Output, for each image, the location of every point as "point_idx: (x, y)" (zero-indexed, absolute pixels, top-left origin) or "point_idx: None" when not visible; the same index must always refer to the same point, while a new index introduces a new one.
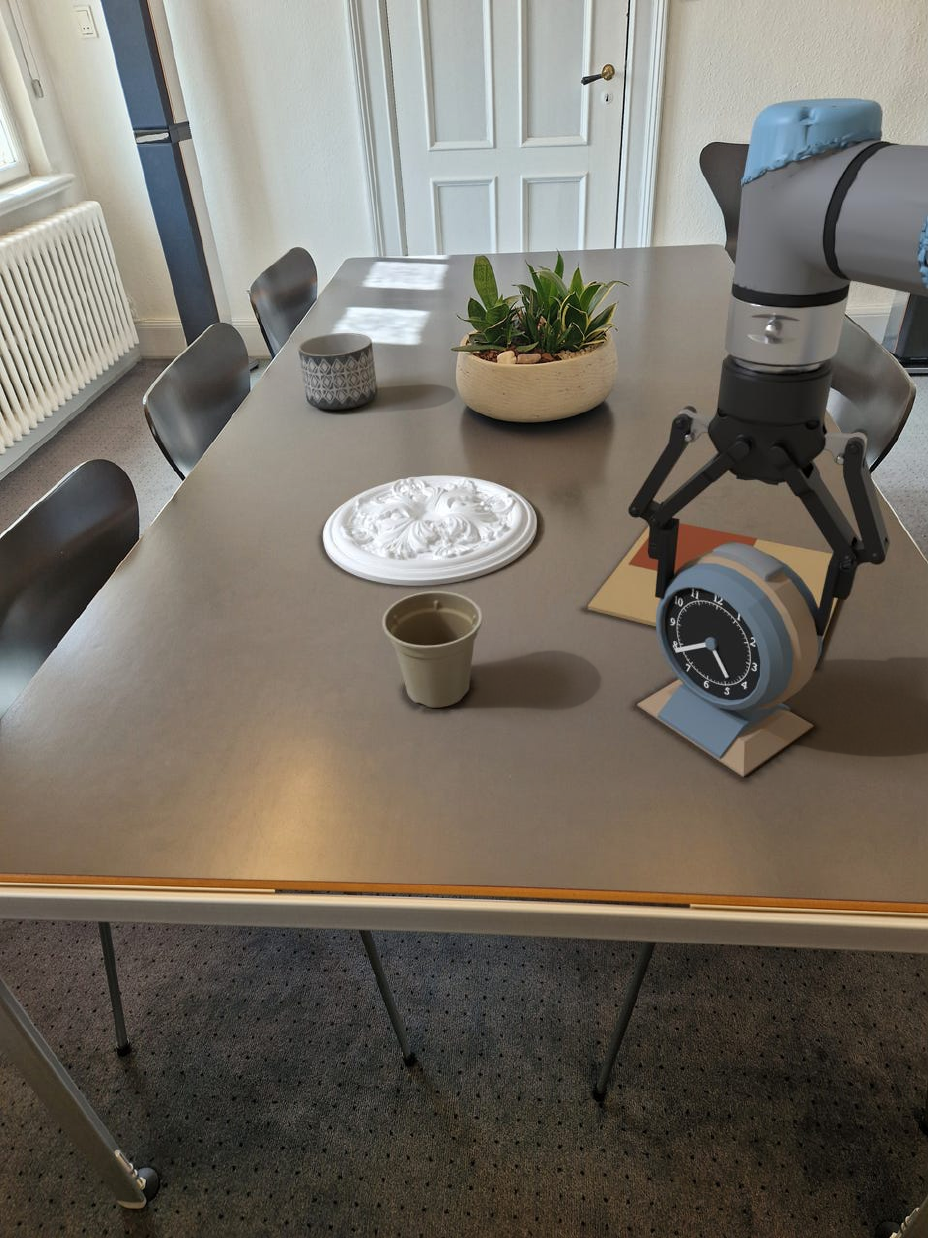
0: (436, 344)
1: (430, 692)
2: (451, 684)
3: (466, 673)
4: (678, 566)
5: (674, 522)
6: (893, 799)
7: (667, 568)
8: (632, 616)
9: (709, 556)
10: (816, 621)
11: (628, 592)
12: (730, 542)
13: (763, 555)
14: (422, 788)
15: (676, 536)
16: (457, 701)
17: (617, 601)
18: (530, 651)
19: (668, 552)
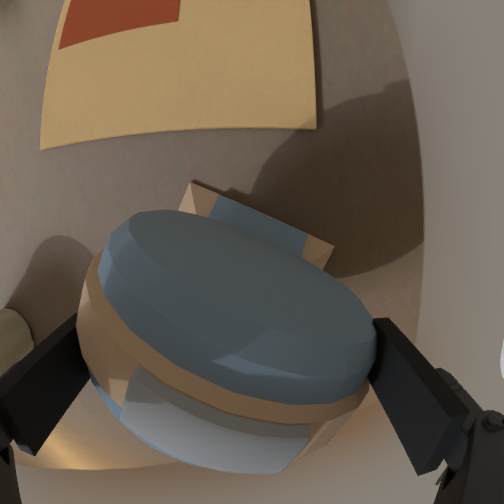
0: None
1: None
2: None
3: (20, 349)
4: (109, 19)
5: (7, 414)
6: (403, 309)
7: (71, 391)
8: (83, 140)
9: (121, 407)
10: (372, 387)
11: (68, 98)
12: (140, 394)
13: (256, 448)
14: (79, 420)
15: (29, 383)
16: (33, 345)
17: (62, 122)
18: (31, 251)
19: (55, 420)
